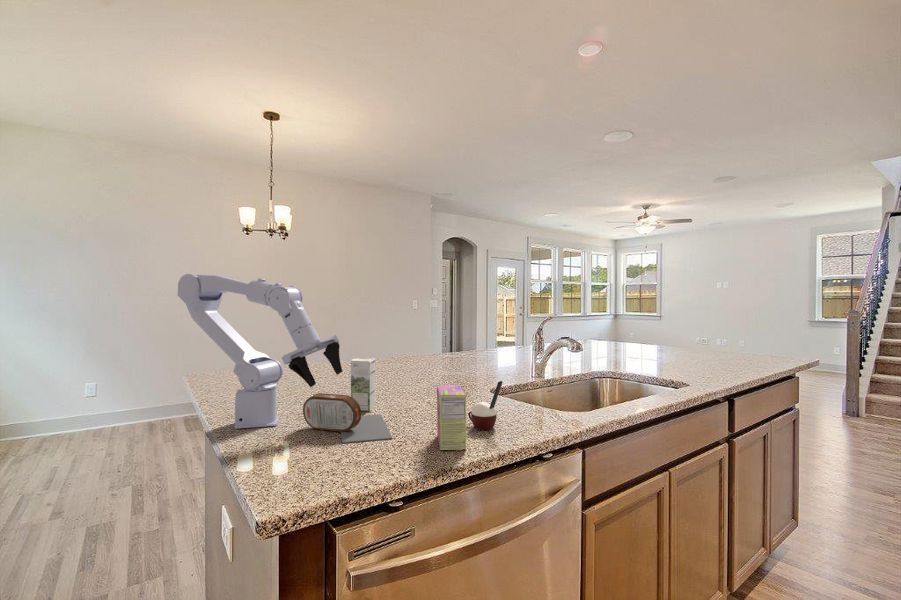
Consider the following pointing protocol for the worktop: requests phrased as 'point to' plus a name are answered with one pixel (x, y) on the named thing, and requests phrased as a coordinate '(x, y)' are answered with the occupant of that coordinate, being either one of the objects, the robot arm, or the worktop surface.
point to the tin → (332, 412)
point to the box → (451, 417)
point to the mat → (367, 430)
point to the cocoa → (485, 412)
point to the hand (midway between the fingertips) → (326, 379)
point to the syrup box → (363, 382)
